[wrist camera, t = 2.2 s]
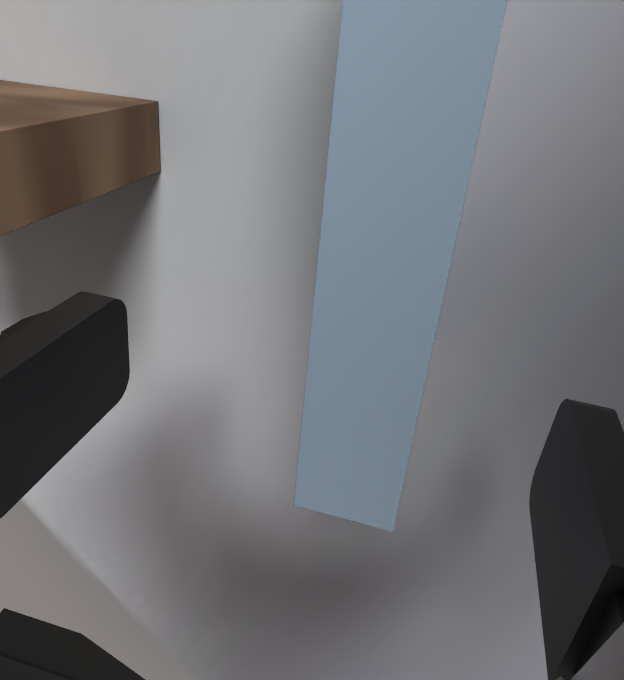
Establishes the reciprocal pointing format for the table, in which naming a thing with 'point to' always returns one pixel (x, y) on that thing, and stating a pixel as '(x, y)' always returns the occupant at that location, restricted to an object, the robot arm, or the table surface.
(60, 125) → the walnut plate
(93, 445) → the table surface
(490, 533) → the table surface
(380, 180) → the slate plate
